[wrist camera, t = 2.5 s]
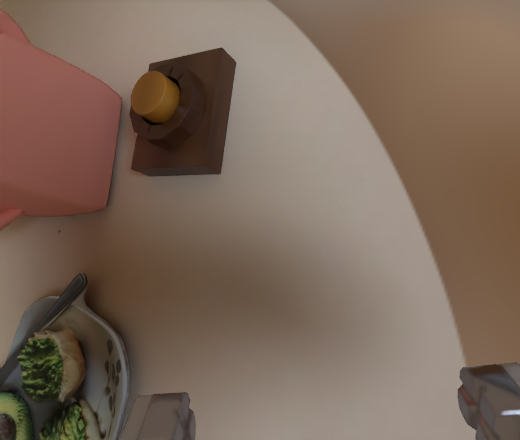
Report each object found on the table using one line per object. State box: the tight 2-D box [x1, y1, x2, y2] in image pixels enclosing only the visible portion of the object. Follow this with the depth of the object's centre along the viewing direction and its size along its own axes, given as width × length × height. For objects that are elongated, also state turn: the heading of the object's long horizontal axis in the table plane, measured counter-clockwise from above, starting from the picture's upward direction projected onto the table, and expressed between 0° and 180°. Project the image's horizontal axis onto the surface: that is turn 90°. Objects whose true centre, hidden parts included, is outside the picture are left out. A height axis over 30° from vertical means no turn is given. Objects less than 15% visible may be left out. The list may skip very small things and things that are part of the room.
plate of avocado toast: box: [0, 273, 130, 440], centre depth 33 cm, size 19×18×5 cm
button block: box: [130, 48, 236, 176], centre depth 32 cm, size 8×10×4 cm
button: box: [131, 71, 180, 123], centre depth 30 cm, size 4×4×2 cm
